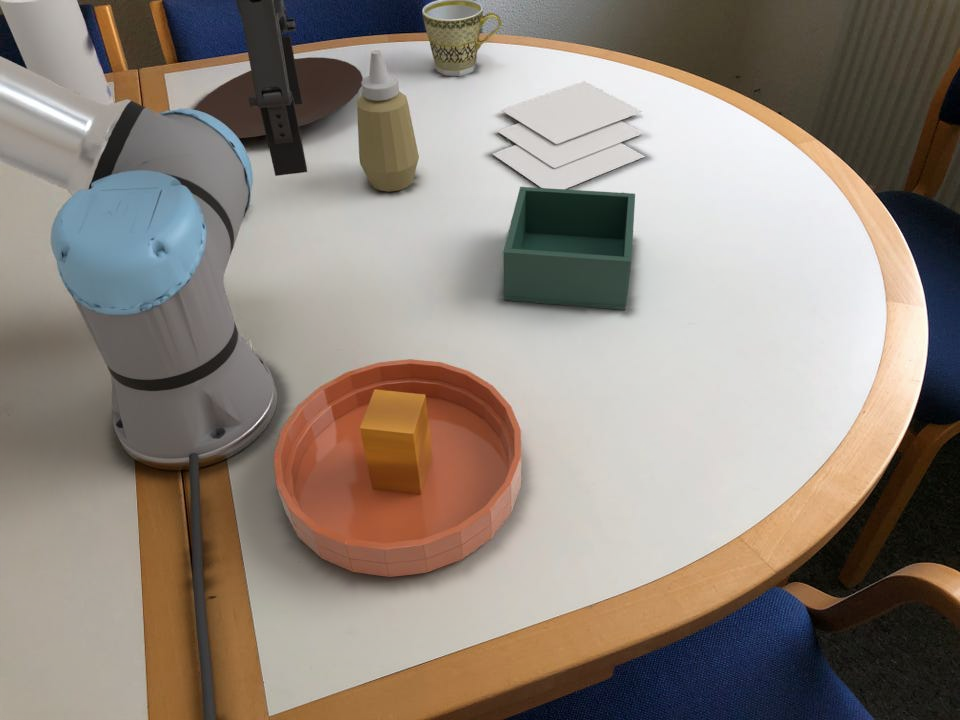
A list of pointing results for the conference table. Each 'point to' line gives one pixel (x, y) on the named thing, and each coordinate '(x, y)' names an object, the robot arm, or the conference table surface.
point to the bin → (569, 248)
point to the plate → (321, 95)
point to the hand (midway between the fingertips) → (289, 135)
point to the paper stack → (569, 136)
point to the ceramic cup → (455, 34)
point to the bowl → (389, 514)
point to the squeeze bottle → (385, 130)
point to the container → (57, 45)
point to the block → (397, 441)
